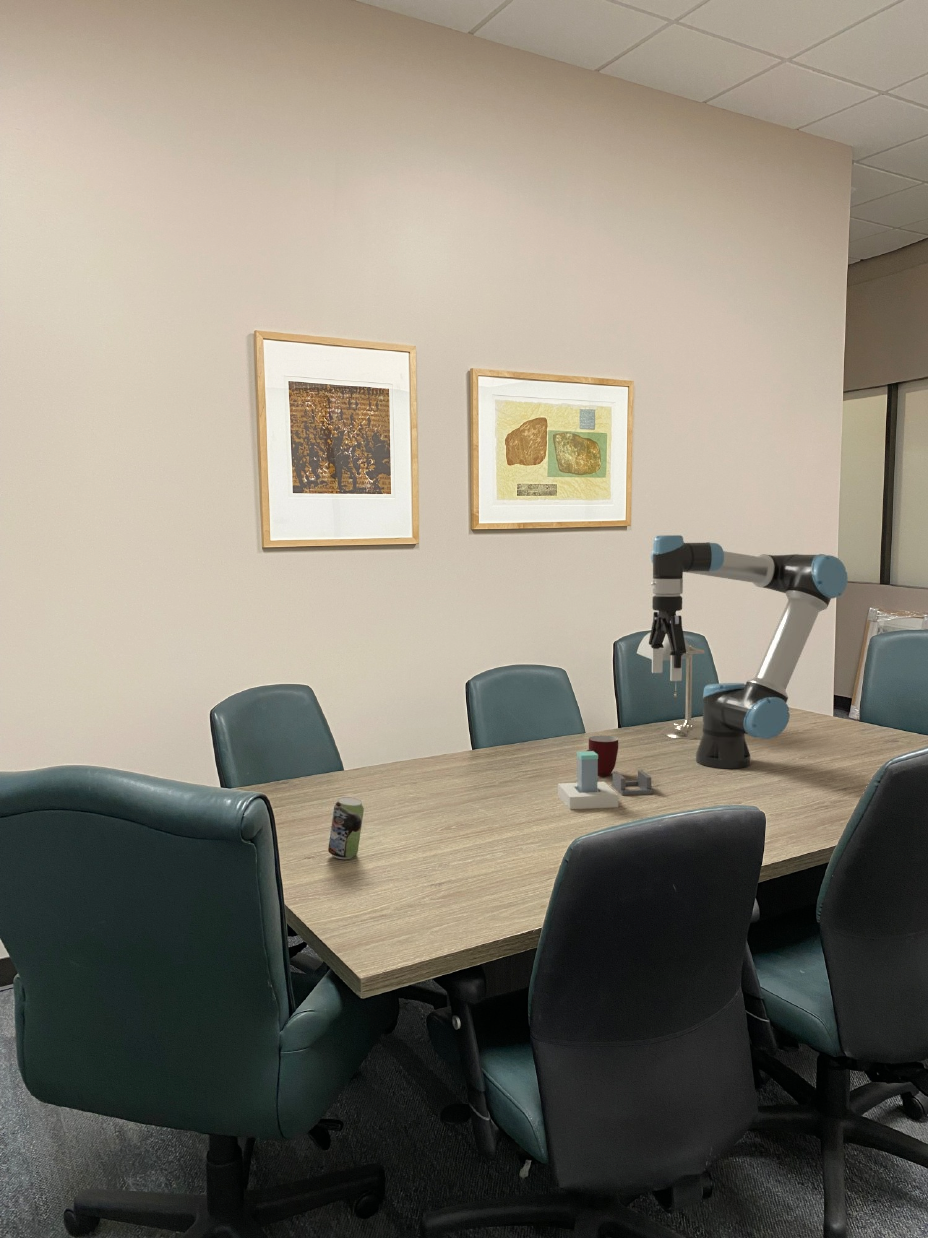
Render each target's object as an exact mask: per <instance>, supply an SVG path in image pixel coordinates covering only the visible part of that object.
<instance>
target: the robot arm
mask: <svg viewBox="0 0 928 1238" xmlns="http://www.w3.org/2000/svg"><path fill="white" fill-rule="evenodd" d="M650 559H651V563H652V582H651V583H650V584H651V587H652V594H653V596H652V602H651V603H652V606H651V607H652V608H651V609H652V610H653V616H652V617H653V618H652V624H651V628H650V629H651V630H650V632H651V634H650V639H649V645H651V648H653V649H652V659H651V673H652V674H662V673H663V664H664V663H663V661H664V660H663V649H662V648H664V646H663V644H662V643H663V641H664V638H665V635H666V634H667V636H668V639H669V643H670V647H671V651H672V652H671V653H670V655H671V660H670V669H669V670H670V673H669V674H670V676H669V677H670V678H669V679H670V682H675V681H676V682H682V675H683V674H682V673H683V659H682V655H683V654H685V653H686V647H685V641H684V639H685V637H684V630H683V623H682V622H683V621H682V618H683V617H682V615H677V614H676V613H677V611H678V612H679V611H682V609H683V597H682V595H683V592H684V589H683V588H684V585H683V584H684V577H683V575H684V573H689V574H695V575H700V576H701V575H702V576H707V577H713V578H721V579H728V580H734V581H740V582H747V583H752V584H753V585H754V586H755V587H757V588H762V589H768V590H771V591H776V592H779V593H783V594H785V596H786V597H787V603H786V605H785V608H784V610H783V612H782V614H781V617H780V619H779V621H778V623H777V625H776V628H775V630H774V633H773V635H772V637H771V639H770V642H769V643H768V644H769V645H768V646H767V649H766V651H765V654H764V655H763V658H762V661H761V662H760V664H759V667H758V670H757V672H756V674H755V677H753V678H751V679H749V680H746V683H742V682H724V683H723V682H721V683H710V684H706V685H705V686H704V688H703V695H702V723H703V735H702V738H701V739H700V741H699V744H698V746H697V750H696V753H695V761H696V763H698V764H700V765H703V766H706V767H711V768H716V769H717V768H718V769H742V768H746V767H748V766H750V765H751V759H752V758H751V753H750V750H749V747H748V743H747V741H746V737H745V736H746V735H748V736H751V737H753V738H757V739H765V740H767V739H768V740H769V739H773V738H775V737H777V736H779V735H781V734H782V732H783V731H784V730H785V729H786V727H787V726H788V724H789V721H790V715H791V714H790V713H789V711H790V708H789V706H788V704H787V702H788V700H789V696H788V693H787V691H786V689H787V687H788V685H789V684H790V683H789V682H790V680H791V678H792V676H793V673H794V671H795V669H796V667H797V665H798V662H799V660H800V657H801V654H802V652H803V651H804V647H805V646H806V643H807V641H808V638H809V637H810V634H811V632H812V629H813V627H814V625H815V622H816V621H817V617H818V615H819V614H820V612H822V611H825V610H827V609H828V607H829V604H830V602H831V600H832V599H836V598H838V597H840V596H842V594H843V593H844V592H845V591H846V588H847V586H848V579H849V578H848V572H847V571H846V566H845V564H844V562H843V561H841V559H839V558H838V557H836V556H833V555H830V554H828V555H827V554H821V553H819V554H799V553H798V554H797V553H796V554H795V553H794V554H779V555H777V554H772V555H771V554H764V553H763V554H760V555H758V556H755V555H750V554H743V553H737V552H730V551H724V549H723V547H722V545H721V544H719V543H717V542H710V541H708V542H685V541H684V537H683V536H682V535H676V534H674V535H671V534H670V535H668V534H667V535H664V534H663V535H656V536H655V537H654V540H653V545H652V550H651V555H650ZM745 734H746V735H745Z"/></svg>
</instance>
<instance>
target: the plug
mask: <svg viewBox="0 0 928 1238" xmlns="http://www.w3.org/2000/svg"><path fill="white" fill-rule="evenodd" d="M576 757H577V759H576V760H577V761H576V762H577V767H576V768H577V774H576V777H577V779H576V783H577V791H578V792H579V793H587V792H597V782H598V777H599V775H598V755H597V754H596V753H595V752H594V751H587V750H584V751H576Z"/></svg>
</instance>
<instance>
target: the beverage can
mask: <svg viewBox="0 0 928 1238" xmlns="http://www.w3.org/2000/svg"><path fill="white" fill-rule="evenodd" d="M364 811H365V809H364V805H363V802H362V800H360V799H358V798H355V797H350V796H346V797H345V796H344V797H339V798H337V802H335V804H334V805H333V812H332V819H331V826H330V827H331V828H330V834H329V835H330V836H329V841H328V848H327V851H328V853H329V854H331V856H332V857H333V858H336V859H339V860H350V859H352V858H353V857H356V855H358V853H359V845H360V839H361V833H362V825H363V817H364Z"/></svg>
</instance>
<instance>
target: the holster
mask: <svg viewBox="0 0 928 1238" xmlns="http://www.w3.org/2000/svg"><path fill="white" fill-rule="evenodd" d="M610 784H611V785H610V786H611V787H613V788H614V789H615V790H616V791H617V792H618V793H619V794H620V795H621V796H637V795H640V796H641V795H653V794H654V792H653V791H654V790H653V789H652V776H650V775H649V774H648V773H646V772H645V771H644V770H643V769H642V770H637V780H626V778H625V777H624V775H622V773H620V772H618V771H614V770H613V771H612V781H611V783H610ZM631 786H634V787H635V786H638V788H639V789H626V787H631Z"/></svg>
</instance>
